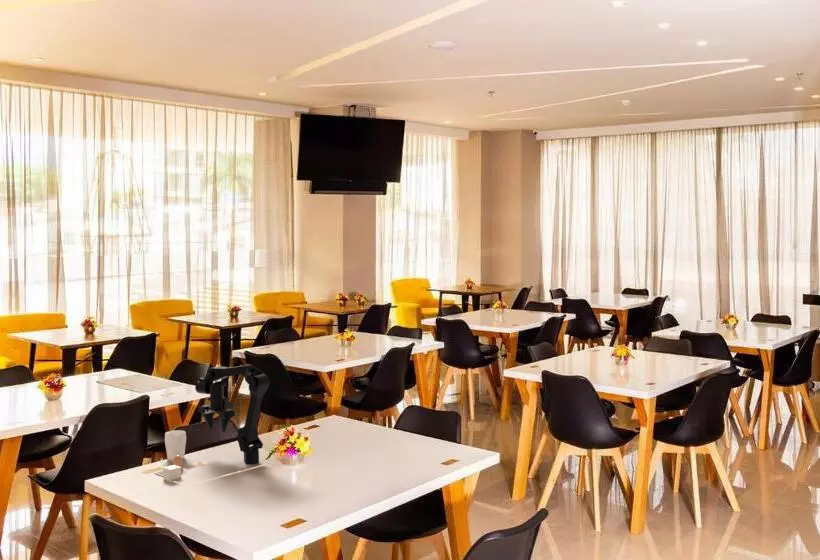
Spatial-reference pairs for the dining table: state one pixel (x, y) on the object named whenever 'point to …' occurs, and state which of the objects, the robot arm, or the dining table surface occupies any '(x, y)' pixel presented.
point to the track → (187, 467)
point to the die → (171, 473)
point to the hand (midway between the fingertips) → (217, 430)
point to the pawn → (178, 461)
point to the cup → (175, 443)
